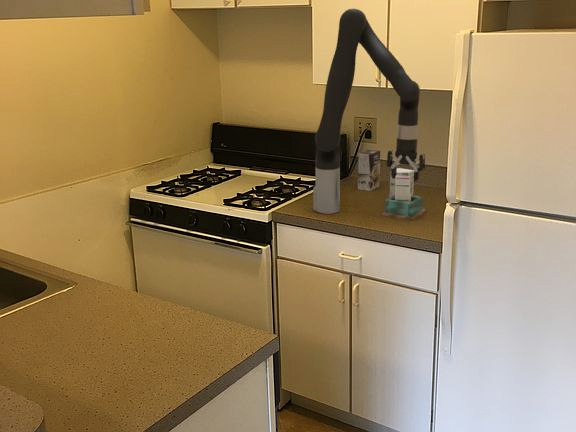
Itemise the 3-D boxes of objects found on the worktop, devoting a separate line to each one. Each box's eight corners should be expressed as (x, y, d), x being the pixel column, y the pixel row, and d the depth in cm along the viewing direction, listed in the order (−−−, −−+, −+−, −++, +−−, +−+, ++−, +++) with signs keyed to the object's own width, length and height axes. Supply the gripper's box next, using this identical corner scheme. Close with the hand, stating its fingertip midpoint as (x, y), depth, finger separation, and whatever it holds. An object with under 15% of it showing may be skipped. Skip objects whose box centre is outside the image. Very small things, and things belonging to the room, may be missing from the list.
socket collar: (380, 215, 241) (381, 200, 239) (394, 206, 251) (395, 192, 249) (413, 221, 234) (413, 205, 232) (426, 211, 244) (427, 196, 243)
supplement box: (388, 201, 259) (389, 171, 255) (397, 197, 265) (398, 167, 261) (405, 204, 255) (406, 173, 251) (413, 200, 260) (414, 169, 256)
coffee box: (370, 191, 274) (371, 154, 269) (357, 189, 277) (357, 152, 272) (379, 186, 281) (380, 150, 276) (366, 184, 284) (367, 149, 279)
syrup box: (409, 213, 239) (411, 176, 235) (393, 212, 241) (395, 175, 236) (411, 209, 244) (412, 172, 240) (395, 208, 246) (396, 171, 242)
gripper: (384, 136, 234) (383, 179, 239) (421, 140, 227) (419, 184, 232) (393, 133, 240) (391, 175, 245) (429, 137, 233) (426, 180, 238)
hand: (404, 179), depth 239 cm, fingers open, 8 cm apart
